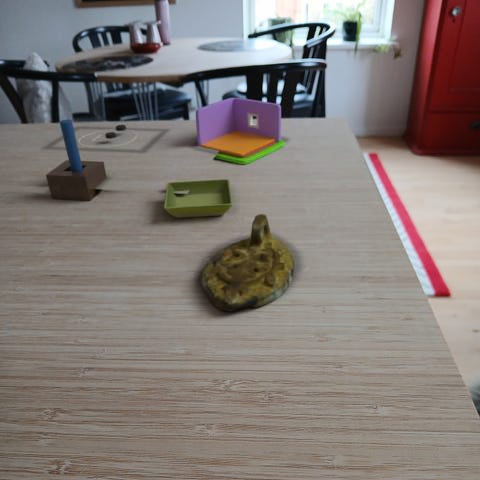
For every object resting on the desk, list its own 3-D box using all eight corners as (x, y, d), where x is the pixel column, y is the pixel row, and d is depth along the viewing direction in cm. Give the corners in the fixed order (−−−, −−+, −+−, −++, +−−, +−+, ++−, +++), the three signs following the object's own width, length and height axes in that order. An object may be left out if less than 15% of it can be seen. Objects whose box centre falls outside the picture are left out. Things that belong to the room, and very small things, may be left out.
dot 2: (114, 130, 92) (113, 127, 92) (118, 127, 93) (117, 124, 93) (123, 131, 92) (123, 127, 91) (127, 128, 93) (127, 124, 93)
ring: (47, 153, 89) (45, 147, 89) (78, 132, 99) (77, 126, 98) (143, 157, 86) (142, 150, 85) (167, 135, 95) (166, 129, 95)
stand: (51, 198, 73) (45, 174, 71) (71, 182, 78) (66, 160, 76) (90, 201, 72) (85, 176, 70) (108, 184, 77) (103, 161, 75)
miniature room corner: (233, 133, 94) (232, 94, 90) (287, 144, 88) (288, 102, 84) (189, 152, 87) (185, 110, 83) (244, 165, 81) (243, 120, 77)
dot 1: (104, 138, 89) (103, 135, 88) (108, 135, 90) (107, 131, 90) (113, 138, 88) (113, 135, 88) (118, 135, 90) (117, 132, 89)
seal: (279, 329, 48) (300, 251, 60) (285, 288, 45) (306, 214, 57) (184, 311, 50) (223, 237, 61) (184, 270, 47) (225, 201, 58)
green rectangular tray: (230, 192, 73) (229, 178, 71) (233, 219, 66) (233, 203, 64) (168, 196, 72) (166, 182, 71) (165, 223, 65) (163, 208, 64)
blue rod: (74, 193, 74) (57, 122, 68) (79, 189, 76) (63, 119, 70) (84, 194, 74) (68, 122, 68) (89, 189, 75) (73, 119, 69)
